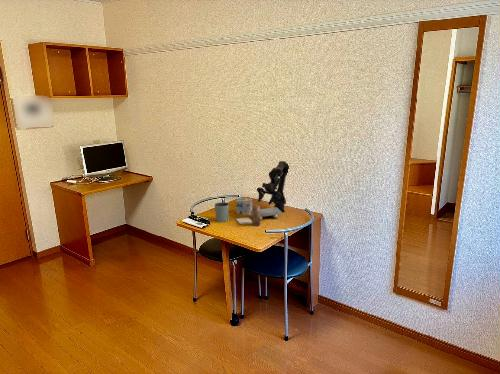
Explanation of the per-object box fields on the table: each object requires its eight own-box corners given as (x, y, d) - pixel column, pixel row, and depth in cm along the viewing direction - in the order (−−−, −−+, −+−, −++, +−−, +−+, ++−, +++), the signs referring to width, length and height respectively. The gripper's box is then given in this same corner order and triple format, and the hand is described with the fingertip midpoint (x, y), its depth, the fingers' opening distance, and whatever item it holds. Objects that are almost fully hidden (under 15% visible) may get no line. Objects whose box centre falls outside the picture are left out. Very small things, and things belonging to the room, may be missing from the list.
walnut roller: (258, 223, 265) (258, 205, 262) (260, 225, 261) (260, 207, 257) (251, 224, 264) (251, 206, 260) (253, 226, 259) (253, 208, 256)
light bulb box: (236, 214, 285) (235, 200, 282) (238, 211, 291) (238, 197, 289) (250, 214, 283) (250, 200, 280) (252, 212, 289) (252, 198, 286)
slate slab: (276, 213, 284) (276, 207, 283) (281, 218, 274) (281, 211, 272) (250, 216, 279) (250, 210, 277) (254, 221, 268) (254, 214, 267)
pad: (248, 218, 275) (248, 217, 275) (252, 222, 266) (252, 221, 266) (236, 220, 272) (236, 218, 272) (239, 224, 264) (239, 222, 264)
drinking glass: (212, 220, 273) (211, 204, 270) (223, 216, 280) (222, 201, 277) (221, 223, 266) (220, 207, 263) (232, 220, 273) (231, 203, 270)
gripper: (258, 176, 270) (247, 194, 265) (279, 180, 258) (268, 199, 253) (265, 184, 278) (255, 202, 273) (286, 189, 265) (276, 208, 261)
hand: (263, 203), depth 265 cm, fingers open, 9 cm apart
